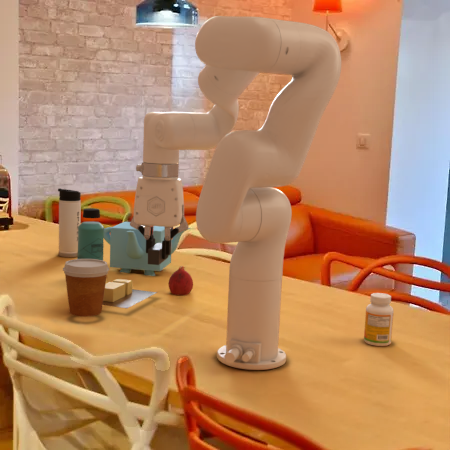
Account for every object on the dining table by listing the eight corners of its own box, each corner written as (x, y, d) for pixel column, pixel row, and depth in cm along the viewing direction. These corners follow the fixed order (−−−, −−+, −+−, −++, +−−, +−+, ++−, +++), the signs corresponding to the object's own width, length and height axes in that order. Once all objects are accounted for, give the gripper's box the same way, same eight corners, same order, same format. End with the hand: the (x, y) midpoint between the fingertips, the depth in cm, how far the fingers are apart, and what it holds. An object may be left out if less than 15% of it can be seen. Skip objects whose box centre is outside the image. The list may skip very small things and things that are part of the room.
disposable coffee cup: (63, 325, 151) (64, 268, 149) (61, 313, 160) (61, 258, 158) (110, 324, 153) (112, 267, 152) (105, 311, 162) (106, 258, 161)
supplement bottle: (371, 336, 153) (375, 290, 151) (395, 342, 149) (399, 295, 148) (358, 342, 148) (362, 294, 147) (383, 348, 145) (386, 300, 144)
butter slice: (127, 295, 172) (127, 282, 171) (111, 293, 173) (112, 280, 173) (132, 292, 174) (132, 280, 174) (116, 290, 175) (117, 278, 175)
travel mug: (55, 253, 223) (55, 187, 220) (77, 253, 226) (77, 187, 223) (60, 258, 217) (60, 189, 214) (82, 256, 220) (83, 189, 217)
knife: (158, 265, 155) (159, 250, 154) (147, 264, 155) (148, 249, 155) (175, 251, 170) (176, 237, 169) (165, 250, 170) (165, 237, 169)
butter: (113, 302, 165) (113, 289, 165) (96, 300, 166) (97, 287, 166) (125, 296, 171) (125, 283, 170) (109, 294, 172) (109, 281, 171)
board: (127, 314, 161) (127, 308, 161) (78, 308, 165) (78, 301, 164) (157, 298, 176) (157, 292, 176) (111, 292, 180) (112, 286, 179)
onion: (188, 303, 173) (190, 269, 172) (165, 301, 174) (166, 267, 173) (194, 297, 178) (196, 264, 177) (171, 295, 180) (172, 262, 178)
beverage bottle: (70, 290, 180) (71, 208, 177) (87, 285, 186) (89, 205, 183) (92, 294, 177) (93, 211, 174) (108, 289, 183) (110, 208, 180)
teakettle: (96, 268, 206) (96, 215, 204) (154, 262, 217) (156, 212, 215) (128, 282, 191) (129, 225, 189) (189, 275, 202) (191, 221, 200)
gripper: (118, 170, 154) (116, 258, 156) (194, 175, 151) (191, 263, 154) (128, 168, 161) (127, 251, 164) (201, 172, 158) (198, 257, 161)
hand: (158, 256), depth 159 cm, fingers closed on knife, 2 cm apart
